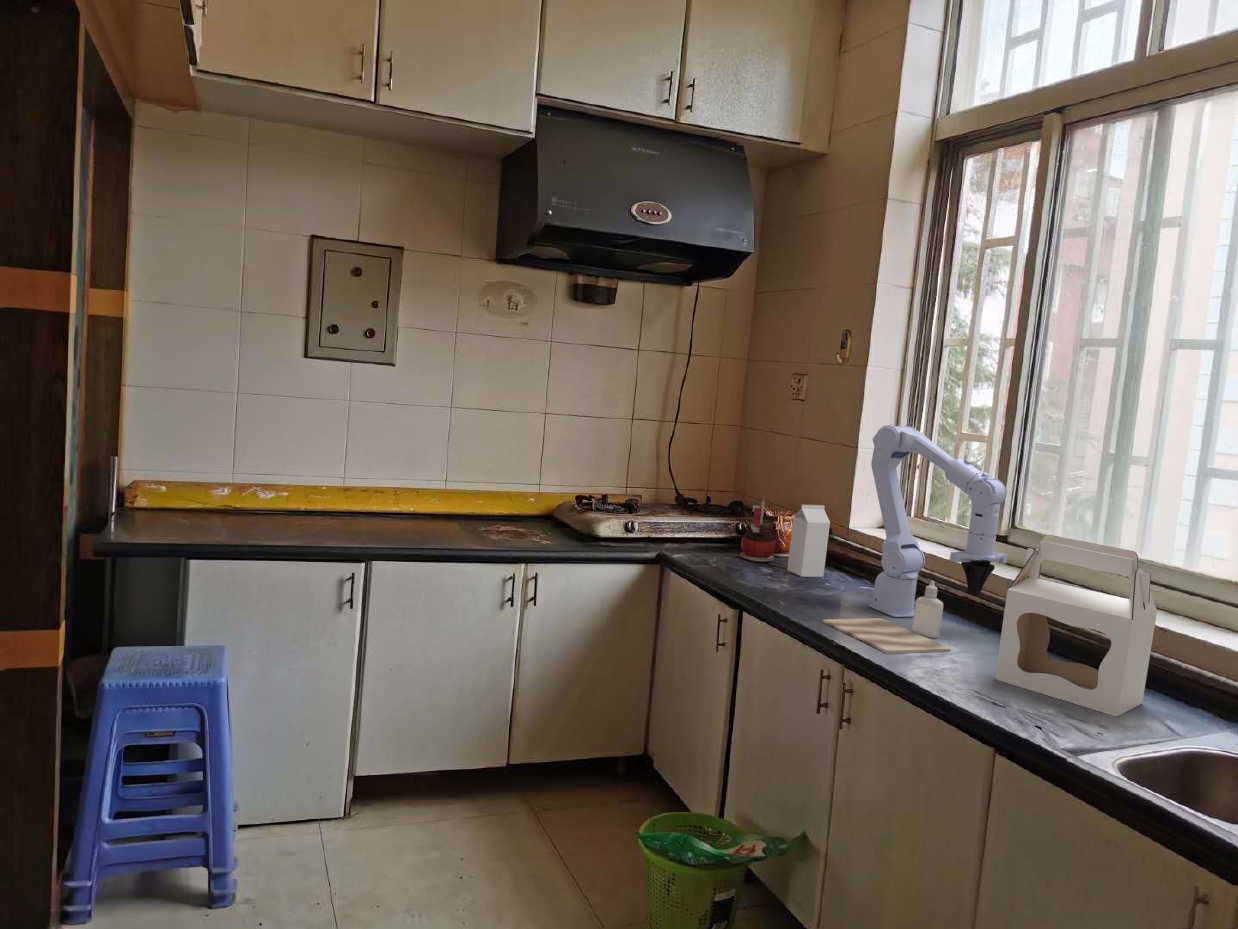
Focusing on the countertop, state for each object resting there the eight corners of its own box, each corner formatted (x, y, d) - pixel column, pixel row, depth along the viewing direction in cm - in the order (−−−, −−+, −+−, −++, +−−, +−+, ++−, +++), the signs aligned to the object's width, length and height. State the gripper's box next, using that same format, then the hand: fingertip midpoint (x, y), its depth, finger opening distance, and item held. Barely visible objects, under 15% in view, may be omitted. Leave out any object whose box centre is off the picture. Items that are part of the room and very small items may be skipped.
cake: (775, 565, 268) (783, 502, 267) (742, 562, 269) (749, 498, 267) (770, 557, 279) (777, 496, 277) (738, 554, 279) (745, 493, 277)
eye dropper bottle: (928, 639, 204) (936, 584, 203) (908, 632, 209) (915, 578, 208) (942, 638, 207) (950, 583, 205) (922, 630, 211) (929, 577, 210)
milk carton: (823, 577, 258) (832, 507, 256) (800, 577, 256) (809, 507, 254) (809, 571, 265) (817, 503, 263) (786, 571, 262) (795, 502, 260)
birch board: (822, 622, 210) (823, 619, 210) (881, 620, 217) (882, 618, 217) (887, 653, 190) (887, 651, 190) (950, 651, 197) (950, 648, 197)
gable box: (992, 679, 180) (1013, 532, 177) (1022, 668, 190) (1042, 529, 187) (1118, 718, 165) (1143, 558, 162) (1143, 704, 174) (1168, 553, 171)
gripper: (969, 536, 204) (961, 599, 205) (1021, 538, 209) (1012, 598, 211) (946, 530, 210) (938, 591, 212) (996, 531, 216) (988, 590, 217)
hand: (973, 594), depth 212 cm, fingers closed
